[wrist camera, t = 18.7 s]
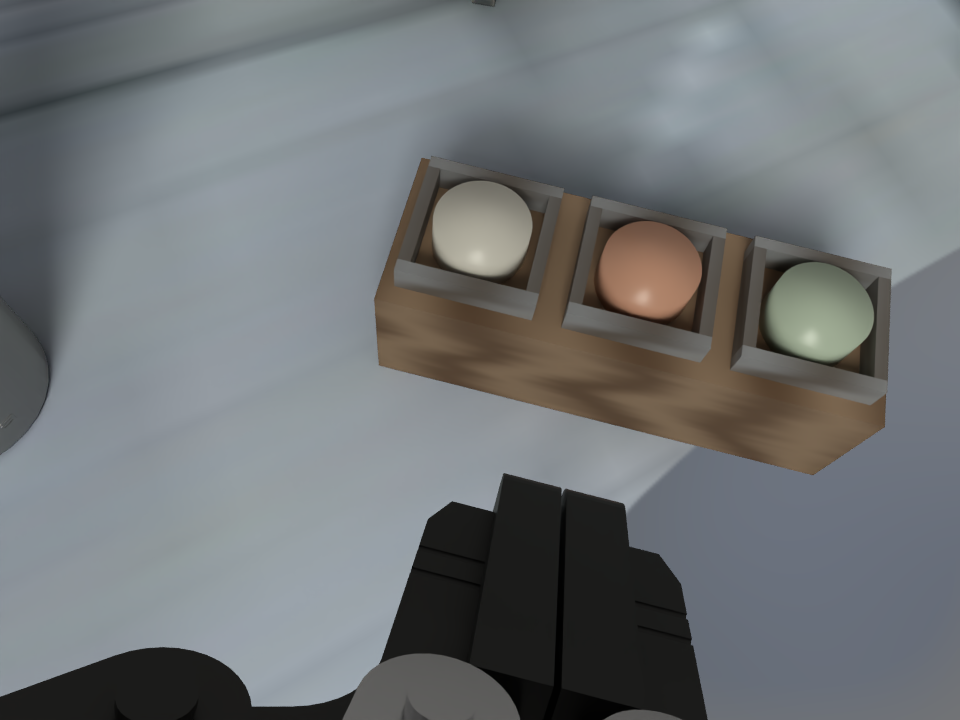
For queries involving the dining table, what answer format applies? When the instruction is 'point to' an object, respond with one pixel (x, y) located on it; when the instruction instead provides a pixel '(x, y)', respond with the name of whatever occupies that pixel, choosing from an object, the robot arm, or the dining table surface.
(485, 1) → the mug
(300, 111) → the dining table surface
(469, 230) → the cream egg
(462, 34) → the dining table surface
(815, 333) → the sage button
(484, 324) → the wooden egg crate
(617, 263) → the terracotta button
